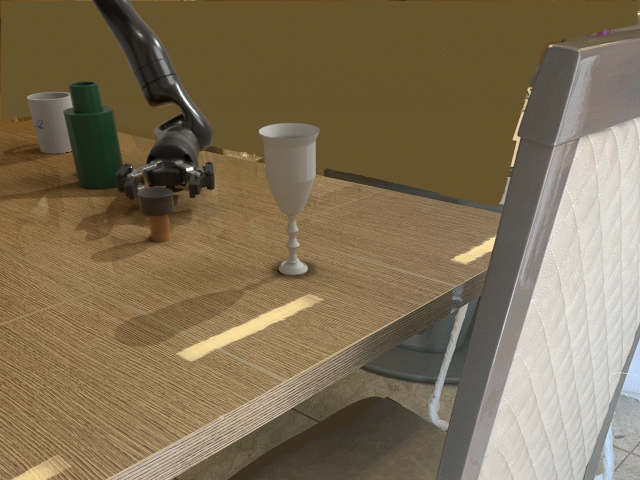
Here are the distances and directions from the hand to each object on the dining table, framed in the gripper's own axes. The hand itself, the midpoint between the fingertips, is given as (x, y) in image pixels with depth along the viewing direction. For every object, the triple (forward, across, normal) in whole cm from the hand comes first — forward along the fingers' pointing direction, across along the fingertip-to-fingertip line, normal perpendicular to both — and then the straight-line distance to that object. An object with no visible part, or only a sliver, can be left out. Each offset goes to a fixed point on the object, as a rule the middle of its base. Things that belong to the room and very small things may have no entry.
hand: (161, 191), depth 91 cm
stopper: (+5, 0, +6) cm, 8 cm away
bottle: (-28, -15, +6) cm, 33 cm away
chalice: (+17, +18, +7) cm, 26 cm away
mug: (-55, -29, +7) cm, 63 cm away
